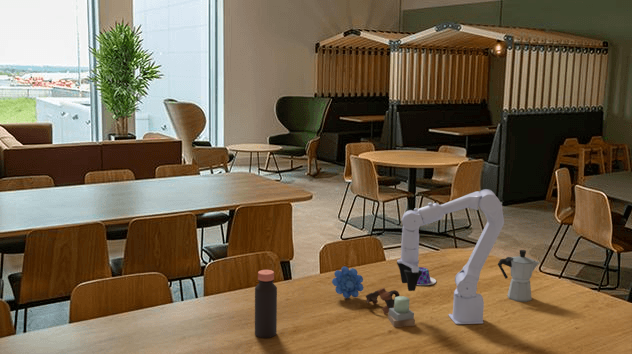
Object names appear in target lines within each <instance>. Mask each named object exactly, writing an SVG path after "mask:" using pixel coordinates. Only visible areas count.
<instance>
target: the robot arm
mask: <svg viewBox="0 0 632 354" xmlns="http://www.w3.org/2000/svg"><path fill="white" fill-rule="evenodd" d="M468 208H469V209H472V210H475V211H479V208H480V210H481V212H483V214H484V216H485V219H486V224H485V225H484V228H483V230H482V232H481V234H480V236H479V238H478V240H477V242H476V244H475V246H474V248H473V251H472V252H471V254H470V256H469V258H468V260H467V262H466V263H465V265H463V267H462V269H461V270H460V271H458V272H457V273H456V274H455V277H454V282H455V285H456V288H455V290H453V304H452V313H448V317H449V318H450V319H451V320H452V322H453V323H454V324H456V325H474V324H476V325H477V324H478V325H479V324H480V325H481V324H484V310H485V307H484V306H485V305H484V304H485V303H484V302H485V301H484V297H483V295H482V294H481V293H477V291H478V282H479V280H480V276H481V271H482V269H483V267H484V266H485V263H486V261H487V259H488V257H489V255H490V253H491V252H492V249H493V247H494V245H495V243H496V241H497V240H498V237H499V235H500V233H501V231H502V230H503V227H504V225H505V219H504V218H505V217H504V212H503V204H502V202H501V201H500V199H499V198H498V196H496V194H495V192H494V191H492V190H491V189H487V188H485V189H481V190H480V191H474V192H470V193H468V194H465V195H463V196H461V197H458V198H454V199H453V200H450V201H447V202H445V203H442V204H439V203H437V202H434V203H433V202H428V203H427V205H425V206H423V207H420V208H418V207H415V208H414V209H413V210H412V209H409V210H406V211H405V212H404V213H403V214H402V216H401V223H402V228H401V231H402V233H401V243H400V245H401V246H400V259H397V260H396V261H397V262H396V265H397V267H398V269H399V273H400V281H401V283H402V284H406V286H407V291H408V292H415V291H416V288H417V286H418V285H417V282H418V279H419V277H420V276H421V274H422V271H421V270H419V267H420V266H419V262H420V260H419V254H420V253H419V251H420V250H419V248H420V233H419V232H420V231H419V230H420V229H419V228H421V226H425V225H429V224H431V223H435V222H438V221H441V220H442V219H443V217H444V215H447V214H450V213H454V212H457V211H460V210H464V209H468Z"/></svg>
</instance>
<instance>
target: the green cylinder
mask: <svg viewBox="0 0 632 354" xmlns="http://www.w3.org/2000/svg"><path fill="white" fill-rule="evenodd" d="M394 298H395V303H394V311H395V312H398V313H407V312H409V310H410V298H409V297H408V296H403V295H402V296H401V295H399V296H398V297H395V296H394Z"/></svg>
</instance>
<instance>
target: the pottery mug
mask: <svg viewBox="0 0 632 354" xmlns="http://www.w3.org/2000/svg"><path fill="white" fill-rule="evenodd" d="M393 295H395V296H394V298H393ZM398 296H401V295H400V293H399V291H398V290H395V289H394V290H391V291H386V288H385V287H382V288H379V289H377V290H375V291H373V292H371V293H368V294H366V295H365V298H366V299H365V303H367V304H370V302H372V304H373V305H377V304H378V302H379V300H378V297H380V300H382V301H384V303H385V304H386V306H383V307H382V308H381V310H382V311H383V314H384V315H386V314H388V313H389V308H394V303H395V297H398Z"/></svg>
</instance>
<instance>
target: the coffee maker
mask: <svg viewBox="0 0 632 354" xmlns="http://www.w3.org/2000/svg"><path fill="white" fill-rule="evenodd" d="M526 254H527V250H525V249H520V250H519V256H507V257H505V258H500V259H499V261H498V263H497V266H498V267H499V269H500V271H501V273H502V275H503V277H504V279H505V280H506V279H508V277H509V276H508V275H507V273H506V271H505V270H504V268H503V266H502V265H505V266H507V267H509V268H510V277H511V279H510V283H509V288H508V291H507V295H506V297H507V298H508V300H512V301H515V302H517V303H518V302H519V303H520V302H521V303H527V302H530V301H532V300H533V299H532V298H533V297H532V288H531V287H532V286H531V281H530V279H531V278H532V276H533V272H534V270H535V269H536V268H537V266H538V265H539V264H540V263H541V262H540V261H537V260H534V259H532V258H531V257H529V256H528V257H527V256H526Z"/></svg>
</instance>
